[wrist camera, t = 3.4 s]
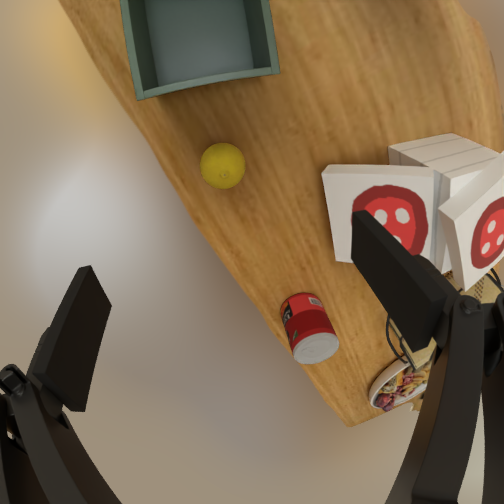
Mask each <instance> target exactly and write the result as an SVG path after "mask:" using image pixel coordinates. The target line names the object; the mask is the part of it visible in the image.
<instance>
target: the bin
mask: <svg viewBox="0 0 504 504" xmlns="http://www.w3.org/2000/svg"><path fill="white" fill-rule="evenodd" d="M120 7H121V14H122V21H123V28H124V34H125V40H126V46H127V52H128V58H129V63H130V69H131V74H132V79H133V84H134V89H135V94H136V99H137V101H139V100H143V99H147V98H152V97H156V96H160V95H164V94H168V93H172V92H176V91H180V90H184V89H189V88H194V87H198V86H203V85H208V84H214V83H219V82H225V81H232V80H238V79H245V78H253V77H261V76H268V75H275V74H280V67H279V60H278V53H277V47H276V40H275V34H274V28H273V22H272V16H271V10H270V5H269V0H120Z"/></svg>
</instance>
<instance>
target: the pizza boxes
mask: <svg viewBox="0 0 504 504" xmlns="http://www.w3.org/2000/svg"><path fill="white" fill-rule="evenodd" d="M388 154H389V164H390V165H328V166H327V167H326V168H325V170H324V171H323V172H322V173H321V174H322V179H323V184H324V190H325V195H326V201H327V206H328V212H329V218H330V224H331V231H332V237H333V244H334V251H335V258H336V261H340V262H349V263H353V261H352V260H351V240H352V212H355V211H360V210H367V211H368V212H369V213H370V214H371V215H372V216H373V217H374V218H375V219H376V220H378V221H379V222H380V223H381V224H382V225H383V226H384V227H385V228H386V229H387V230H388V231H389V232H390V233H391V234H392V235H393V236H394V237H395V238H396V239H397V240H398V241H399V242H400V243H401V244H402V245H403V246H404V247H405V249H406V250H407V251H408V252H409V253H410V254H411V255H412V256H413V255H417V254H419V255H421V256H423V257H425V258H427V259H428V260H429V261H430V262H431V263H432V264H433V265H434V266H435V267H436V268H437V269H438V270H439V271H440V272H441V274H443V273H445V272H447V271H449V270H452V272H453V278H454V280H455V281H456V282H457V283H458V284H459V285H460V287H461V288H462V289H463V290H464V291H465V292H466V291H467V290H468V289H469V288H470V287H472V286H473V285H474V284H475V283H476V282H477V281H478V280H479V279H481V278H482V277H483V276H484V275H485V274H486V273H487V272H488V271H489V270H490V269H491V268H492V267H493V266H494V265H495V264H496V263H497V262H498V261H499V260H500V259H501V258H502V257H503V256H504V151H503V152H502V153H501V154H500V153H498V152H496V151H493V150H491V149H489V148H487V147H485V146H482V145H480V144H478V143H475V142H473V141H471V140H468V139H466V138H463V137H461V136H458V135H456V134H453V133H448V134H443V135H437V136H432V137H427V138H422V139H417V140H413V141H408V142H403V143H399V144H394V145H390V146H388Z"/></svg>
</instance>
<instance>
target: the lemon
mask: <svg viewBox="0 0 504 504" xmlns="http://www.w3.org/2000/svg"><path fill="white" fill-rule="evenodd" d="M245 166H246V165H245V159H244V157H243V154H242V153H241V151H240V150H239V149H238V148H236V147H235V146H234V145H231V144H229V143H217V144H214V145H212V146H210V147H209V148H207V149H206V151H205V152H204V153H203V155H202V157H201V160H200V171H201V174H202V177H203V178H204V180H205V181H206V182H207V183H208V184H209V185H211V186H213V187H214V188H218V189H227V188H231V187H233V186H235V185H236V184H237V183H239V181H240V180H241V179H242V177H243V175H244V172H245Z"/></svg>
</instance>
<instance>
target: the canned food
mask: <svg viewBox="0 0 504 504" xmlns="http://www.w3.org/2000/svg"><path fill="white" fill-rule="evenodd" d="M281 317H282V321H283V324H284V327H285V331H286V334H287V337H288V341H289V344H290V347H291V350H292V353H293V356H294V358H295V360H296V361H297V362H299V363H302V364H315V363H319V362H322V361H324V360H326V359H328V358H329V357H331V356H332V355H333V354H334V353H335V352H336V351H337V349H338V347H339V341H338V338H337V336H336V333H335V331H334V329H333V327H332V325H331V322H330V320H329V318H328V316H327V314H326V312H325V310H324V308H323V306H322V304H321V301H320V300H319V299H318V298H317V297H316V296H315V295H313V294H311V293H299V294H296V295H293V296H291V297H290V298H288V299H287V300H286V301H285V302H284V303H283V305H282V307H281Z"/></svg>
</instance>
